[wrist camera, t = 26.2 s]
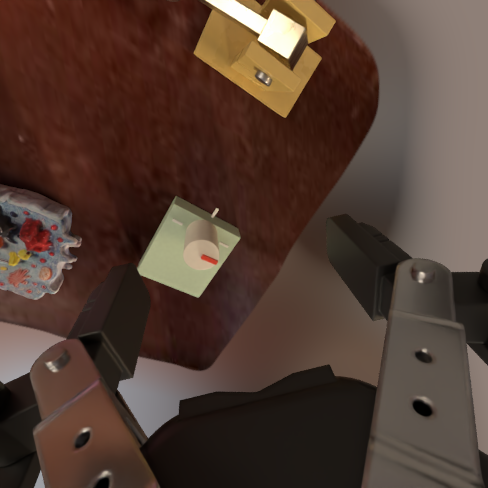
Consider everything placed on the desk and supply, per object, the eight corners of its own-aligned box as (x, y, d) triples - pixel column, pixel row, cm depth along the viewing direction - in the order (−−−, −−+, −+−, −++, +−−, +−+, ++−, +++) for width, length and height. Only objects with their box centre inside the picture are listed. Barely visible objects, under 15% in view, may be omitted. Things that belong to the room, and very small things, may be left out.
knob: (180, 239, 36) (176, 263, 31) (194, 214, 35) (192, 235, 30) (208, 251, 38) (209, 276, 33) (223, 227, 36) (226, 250, 31)
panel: (183, 181, 35) (181, 189, 33) (246, 216, 39) (249, 226, 36) (139, 261, 40) (135, 273, 38) (199, 285, 44) (198, 298, 41)
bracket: (193, 54, 29) (188, 33, 18) (225, -20, 26) (242, -99, 15) (283, 117, 33) (323, 131, 22) (318, 58, 30) (383, 41, 19)
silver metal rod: (156, -2, 24) (128, -30, 20) (173, -50, 22) (146, -88, 19) (288, 82, 22) (281, 67, 19) (314, 36, 21) (312, 11, 18)
